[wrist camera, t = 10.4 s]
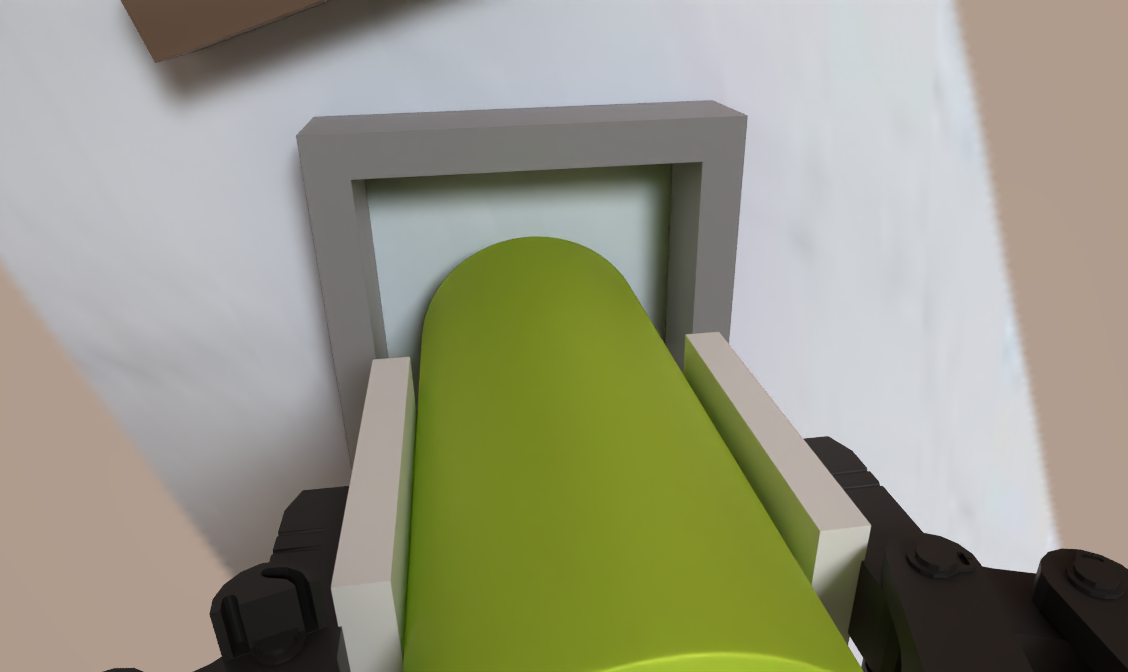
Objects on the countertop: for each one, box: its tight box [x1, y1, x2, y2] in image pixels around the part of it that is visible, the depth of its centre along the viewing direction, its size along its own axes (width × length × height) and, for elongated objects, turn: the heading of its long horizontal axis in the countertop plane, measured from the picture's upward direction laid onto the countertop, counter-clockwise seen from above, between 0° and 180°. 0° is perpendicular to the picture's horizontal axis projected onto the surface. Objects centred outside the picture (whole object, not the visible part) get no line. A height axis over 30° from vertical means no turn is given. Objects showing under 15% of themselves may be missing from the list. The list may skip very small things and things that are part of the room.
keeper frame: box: [296, 100, 747, 470], centre depth 20 cm, size 11×10×2 cm
